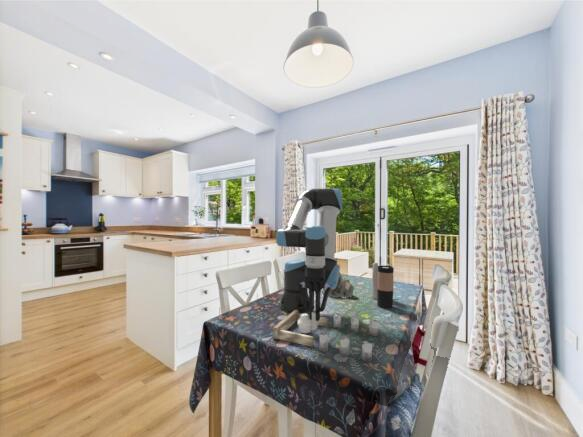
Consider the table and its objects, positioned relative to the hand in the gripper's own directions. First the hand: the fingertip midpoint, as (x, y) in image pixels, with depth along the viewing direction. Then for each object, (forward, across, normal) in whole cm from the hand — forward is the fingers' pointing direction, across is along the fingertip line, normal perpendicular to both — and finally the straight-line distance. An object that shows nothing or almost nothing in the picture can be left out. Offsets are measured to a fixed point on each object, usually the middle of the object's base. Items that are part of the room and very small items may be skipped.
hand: (314, 328), depth 96 cm
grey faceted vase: (+2, -3, 0) cm, 4 cm away
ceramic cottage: (+2, -4, +54) cm, 54 cm away
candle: (+2, +22, +59) cm, 63 cm away
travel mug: (+2, +23, +45) cm, 50 cm away
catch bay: (+2, -5, 0) cm, 5 cm away
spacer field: (+2, +13, 0) cm, 14 cm away
